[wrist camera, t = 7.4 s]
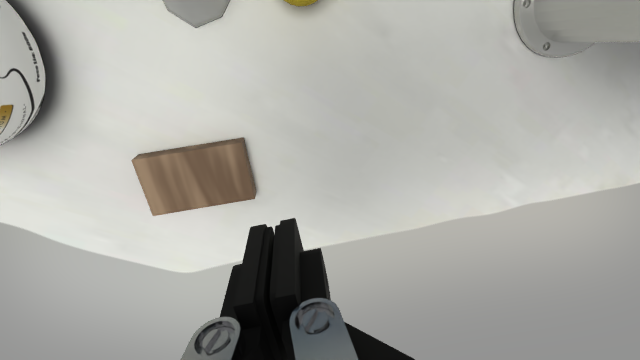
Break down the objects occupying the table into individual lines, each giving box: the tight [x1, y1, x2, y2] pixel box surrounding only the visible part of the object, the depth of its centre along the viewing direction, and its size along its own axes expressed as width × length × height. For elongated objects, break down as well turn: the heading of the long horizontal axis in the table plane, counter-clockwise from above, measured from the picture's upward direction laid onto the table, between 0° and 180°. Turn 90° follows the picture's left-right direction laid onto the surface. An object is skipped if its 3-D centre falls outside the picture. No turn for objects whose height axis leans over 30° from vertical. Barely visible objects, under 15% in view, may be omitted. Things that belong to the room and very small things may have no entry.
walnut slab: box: [132, 138, 256, 216], centre depth 38 cm, size 2×7×12 cm
